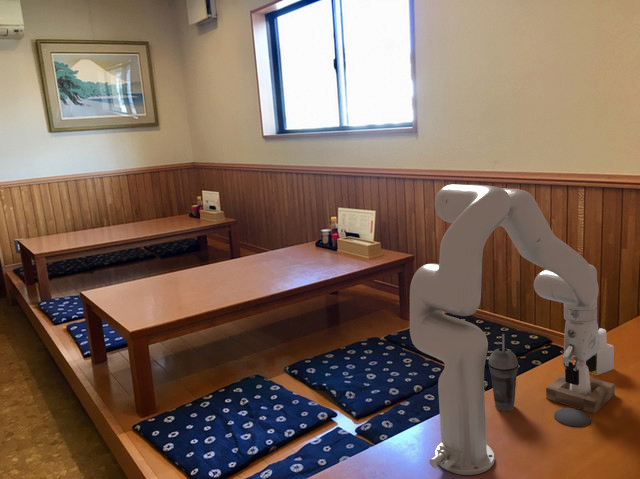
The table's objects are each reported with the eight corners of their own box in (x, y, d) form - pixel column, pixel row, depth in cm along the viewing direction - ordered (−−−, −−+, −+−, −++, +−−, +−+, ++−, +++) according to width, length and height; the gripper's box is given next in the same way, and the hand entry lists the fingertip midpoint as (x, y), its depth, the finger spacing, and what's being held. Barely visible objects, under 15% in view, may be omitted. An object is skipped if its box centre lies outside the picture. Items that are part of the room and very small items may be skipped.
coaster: (581, 430, 126) (582, 429, 126) (548, 419, 132) (548, 417, 132) (596, 416, 131) (596, 415, 131) (563, 406, 137) (563, 404, 137)
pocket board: (594, 413, 132) (594, 402, 132) (546, 398, 141) (546, 387, 141) (614, 394, 140) (614, 383, 139) (567, 381, 149) (567, 371, 148)
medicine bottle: (574, 367, 157) (574, 327, 154) (592, 360, 160) (592, 322, 157) (596, 376, 150) (596, 335, 148) (614, 369, 153) (614, 329, 151)
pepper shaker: (577, 403, 137) (577, 362, 135) (564, 393, 143) (563, 354, 140) (596, 399, 138) (597, 359, 136) (582, 390, 144) (582, 351, 141)
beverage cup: (515, 398, 142) (513, 326, 139) (523, 413, 135) (521, 337, 131) (487, 400, 143) (484, 327, 139) (492, 414, 136) (490, 338, 132)
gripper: (580, 326, 128) (580, 393, 131) (610, 305, 139) (610, 368, 142) (548, 320, 133) (550, 385, 137) (580, 300, 144) (581, 360, 148)
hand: (580, 376), depth 140 cm, fingers open, 9 cm apart
